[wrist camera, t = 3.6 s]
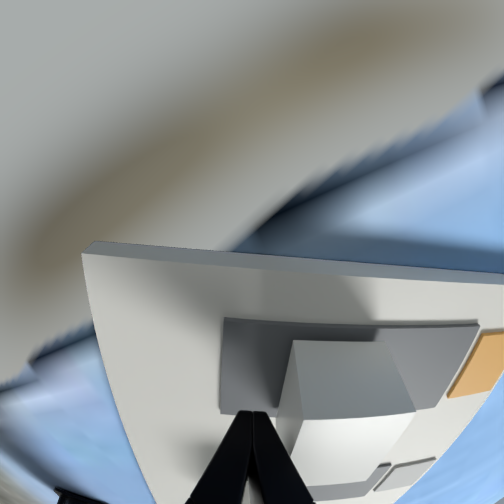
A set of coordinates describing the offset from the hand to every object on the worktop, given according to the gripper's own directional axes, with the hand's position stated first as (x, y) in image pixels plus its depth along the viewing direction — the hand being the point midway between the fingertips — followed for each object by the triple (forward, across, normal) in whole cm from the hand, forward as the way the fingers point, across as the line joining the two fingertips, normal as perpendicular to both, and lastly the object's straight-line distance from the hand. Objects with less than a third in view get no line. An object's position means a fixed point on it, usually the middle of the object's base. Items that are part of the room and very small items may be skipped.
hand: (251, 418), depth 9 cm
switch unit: (+3, -3, +10) cm, 11 cm away
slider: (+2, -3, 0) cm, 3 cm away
